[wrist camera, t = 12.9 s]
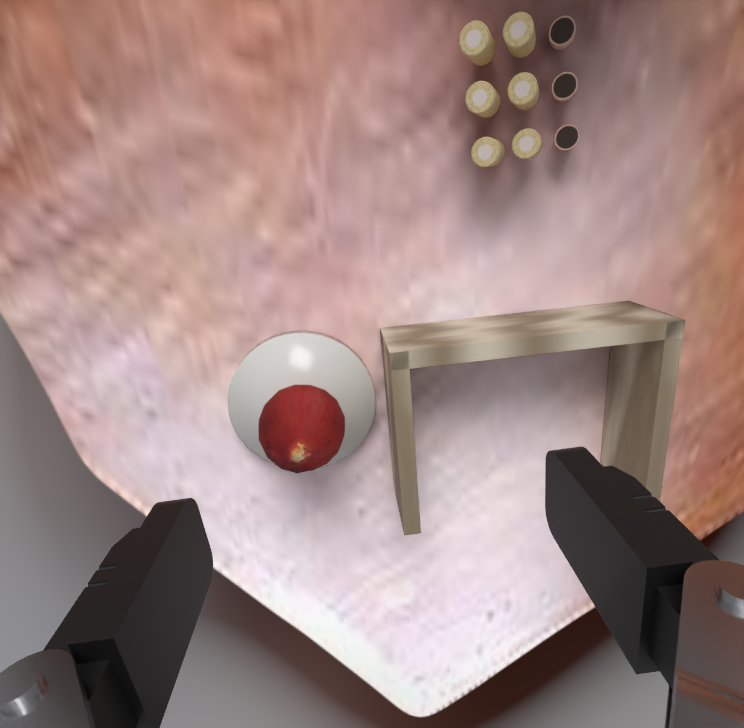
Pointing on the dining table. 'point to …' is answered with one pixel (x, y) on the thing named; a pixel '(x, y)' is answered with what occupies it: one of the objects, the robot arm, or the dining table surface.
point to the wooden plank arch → (538, 336)
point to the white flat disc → (302, 367)
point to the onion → (301, 428)
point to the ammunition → (517, 84)
